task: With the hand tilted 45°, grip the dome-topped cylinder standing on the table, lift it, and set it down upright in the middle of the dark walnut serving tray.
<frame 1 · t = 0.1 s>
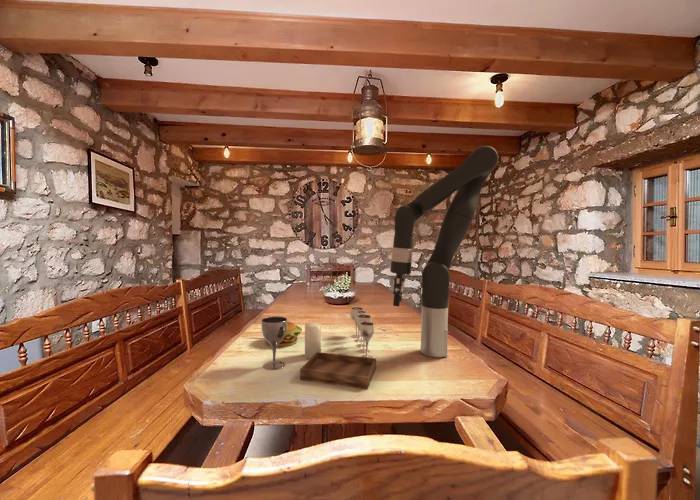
hand: (397, 303, 115), 17 cm above the table, tool pointing down, fingers open, 8 cm apart
goblet set: (360, 346, 119), on the table
serving tray: (339, 373, 94), on the table
dome-topped cylinder: (312, 356, 108), on the table
wine glass: (274, 366, 99), on the table
food: (283, 342, 121), on the table
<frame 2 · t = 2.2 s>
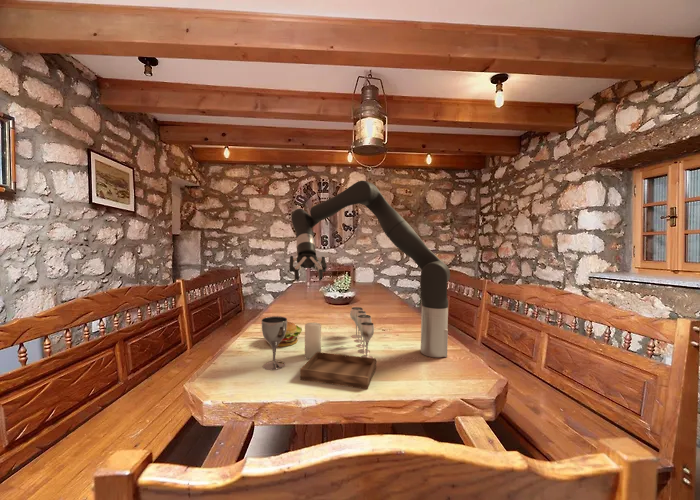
hand: (309, 279, 116), 26 cm above the table, tool tilted 45°, fingers open, 8 cm apart
nothing on the table moved.
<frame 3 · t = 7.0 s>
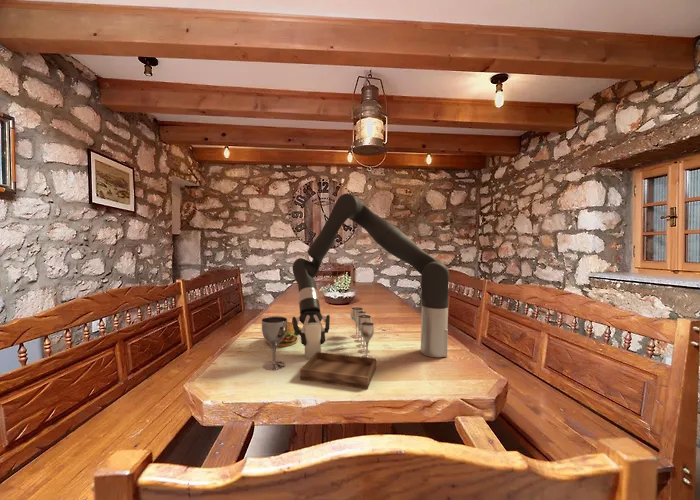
hand: (313, 343, 106), 5 cm above the table, tool tilted 45°, fingers closed on dome-topped cylinder, 5 cm apart
dome-topped cylinder: (312, 355, 108), on the table, touching gripper
everything else where it was.
when the fingers open (7 cm above the table, at t = 12.5 s): dome-topped cylinder drops 1 cm, resting on serving tray.
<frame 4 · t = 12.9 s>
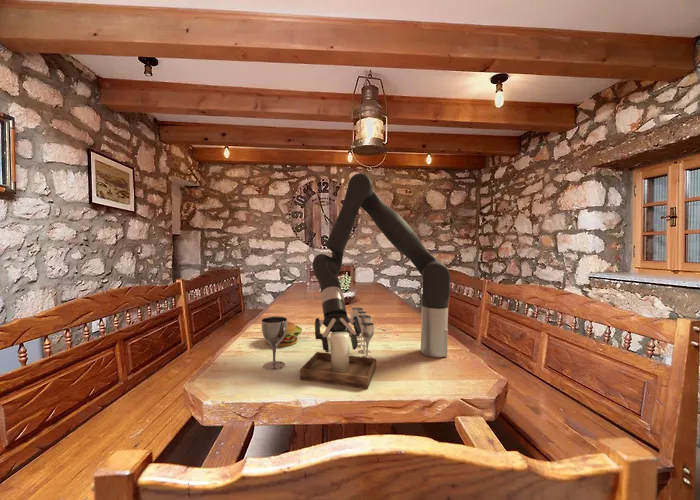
hand: (341, 349, 92), 8 cm above the table, tool tilted 45°, fingers open, 8 cm apart
dome-topped cylinder: (340, 369, 94), point 1 cm above the table, touching serving tray
everything else where it was.
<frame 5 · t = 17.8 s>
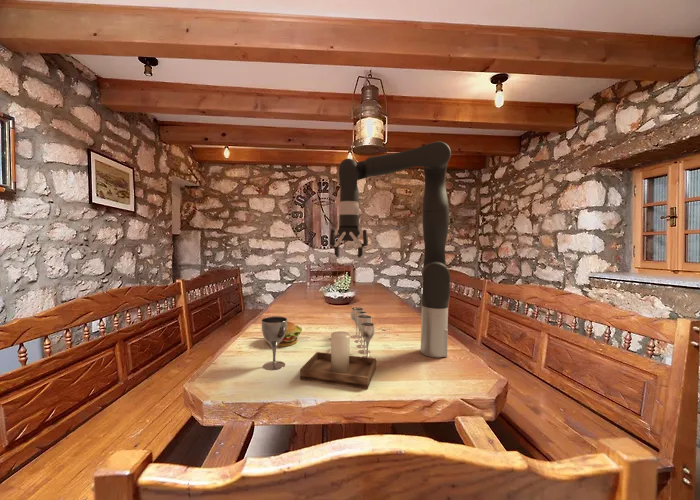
hand: (348, 257, 117), 34 cm above the table, tool pointing down, fingers open, 8 cm apart
nothing on the table moved.
at the end: dome-topped cylinder inside the target area on the serving tray (0.1 cm from its centre), point 1.2 cm above the serving tray's base; dome-topped cylinder tilted 0°; the gripper is holding nothing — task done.
